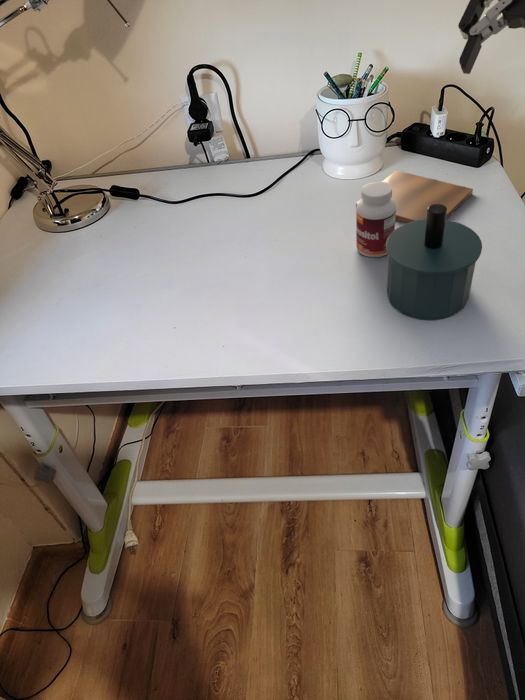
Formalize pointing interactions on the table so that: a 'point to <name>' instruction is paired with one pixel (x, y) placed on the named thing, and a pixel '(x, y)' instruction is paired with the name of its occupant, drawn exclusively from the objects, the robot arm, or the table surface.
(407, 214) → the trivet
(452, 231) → the lid
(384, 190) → the pill bottle
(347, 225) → the table surface
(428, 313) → the pot
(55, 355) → the table surface
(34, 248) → the table surface
